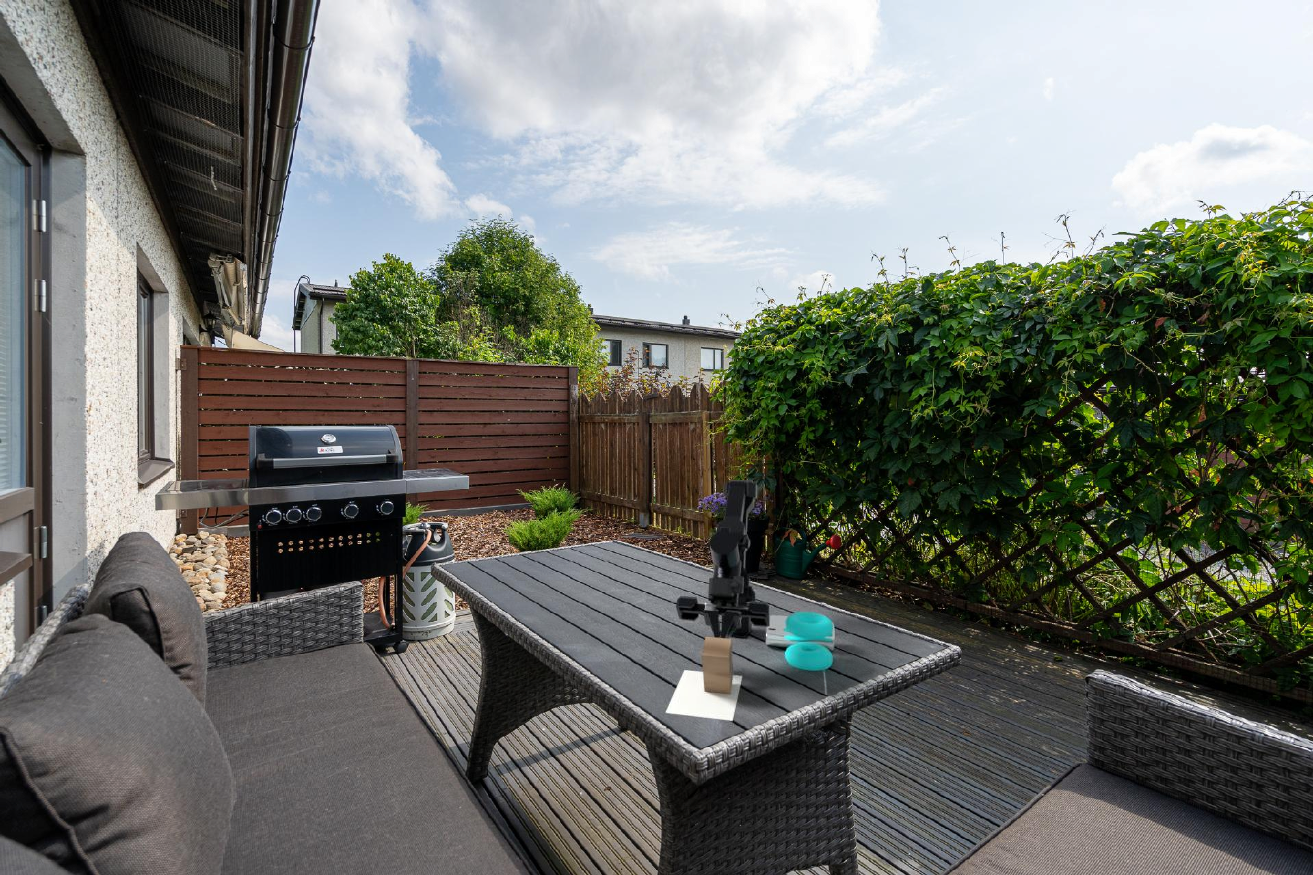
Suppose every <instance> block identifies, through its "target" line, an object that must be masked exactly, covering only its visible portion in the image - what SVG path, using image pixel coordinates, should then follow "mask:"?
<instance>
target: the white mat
mask: <svg viewBox="0 0 1313 875" xmlns="http://www.w3.org/2000/svg"><path fill="white" fill-rule="evenodd" d="M742 680H743V675H736V674H733V680H732V687H731V694H721V693H712V692H704V679H703V671H697V670H686V669H684V671H683V673H682V674H681V676H680V679H679V682H678V684H677V686H676V688H675V689H674V691H673V692H674V693H673V695H672V697H671V699H670V702H669V705H668V706H667V708H666V710H665V714H670V715H671V714H672V715H679V716H688V717H695V718H705V719H713V720H721V721H730V722H733V721H734V716H735V713H736V712H735V711H736V706H737V703H738V702H737V701H738V699H739V694H740V688H741V684H742Z"/></svg>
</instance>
